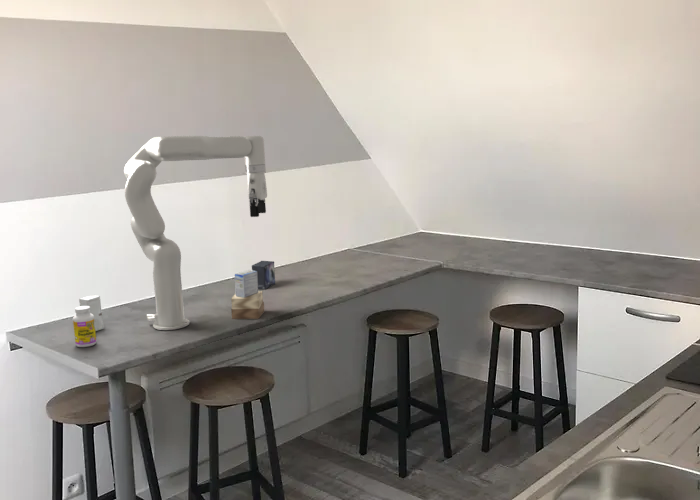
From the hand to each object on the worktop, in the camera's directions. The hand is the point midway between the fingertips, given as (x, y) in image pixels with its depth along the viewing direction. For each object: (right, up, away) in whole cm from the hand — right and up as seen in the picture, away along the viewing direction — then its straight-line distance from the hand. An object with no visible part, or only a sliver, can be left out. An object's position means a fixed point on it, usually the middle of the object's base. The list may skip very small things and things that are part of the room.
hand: (258, 214), depth 269 cm
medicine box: (-4, -30, -4) cm, 31 cm away
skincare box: (-57, -42, -14) cm, 73 cm away
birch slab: (-4, -34, -3) cm, 34 cm away
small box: (-3, -29, +41) cm, 51 cm away
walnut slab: (-3, -38, -2) cm, 38 cm away
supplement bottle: (-54, -45, -31) cm, 76 cm away
